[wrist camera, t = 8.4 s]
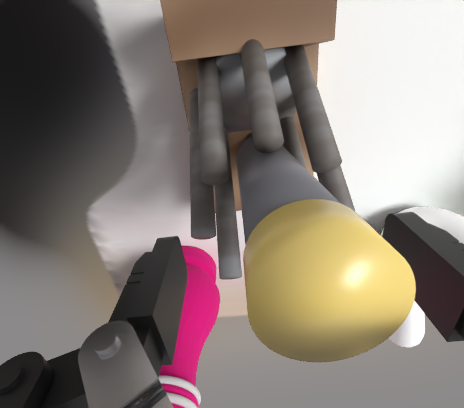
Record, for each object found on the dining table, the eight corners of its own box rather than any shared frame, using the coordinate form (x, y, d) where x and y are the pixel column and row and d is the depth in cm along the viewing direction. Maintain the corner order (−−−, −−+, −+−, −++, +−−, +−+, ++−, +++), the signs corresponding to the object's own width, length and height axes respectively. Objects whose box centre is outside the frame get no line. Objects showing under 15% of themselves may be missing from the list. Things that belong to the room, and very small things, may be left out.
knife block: (172, 12, 17) (97, -62, 7) (308, -8, 17) (431, -114, 7) (208, 207, 24) (196, 307, 14) (303, 196, 24) (359, 291, 14)
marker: (231, 136, 15) (238, 246, 4) (284, 129, 15) (429, 225, 4) (237, 186, 17) (255, 368, 6) (287, 179, 16) (403, 354, 5)
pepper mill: (190, 229, 25) (111, 598, 8) (233, 272, 28) (246, 612, 11) (139, 263, 27) (-14, 618, 10) (185, 300, 30) (128, 625, 13)
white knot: (433, 164, 23) (544, 217, 15) (463, 249, 27) (559, 324, 20) (319, 227, 26) (360, 299, 18) (364, 294, 30) (412, 374, 23)
